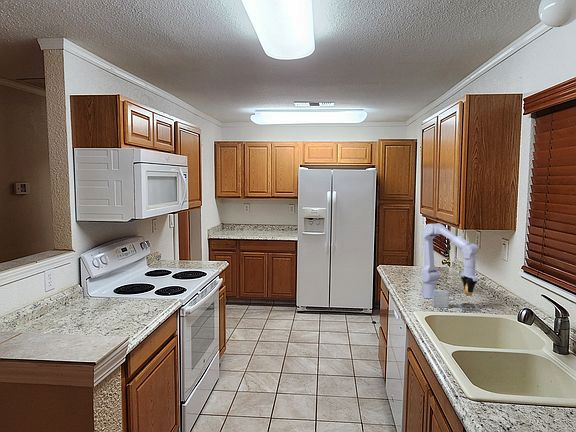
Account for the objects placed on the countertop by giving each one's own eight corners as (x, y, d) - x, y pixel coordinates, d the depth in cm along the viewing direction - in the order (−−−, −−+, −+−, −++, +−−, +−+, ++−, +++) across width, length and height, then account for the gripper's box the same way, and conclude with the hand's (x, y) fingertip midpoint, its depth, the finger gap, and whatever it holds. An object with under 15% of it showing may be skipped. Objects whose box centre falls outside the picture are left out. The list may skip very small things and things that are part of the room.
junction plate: (455, 305, 216) (456, 301, 216) (472, 305, 216) (472, 302, 216) (463, 310, 206) (463, 307, 206) (480, 311, 205) (480, 307, 205)
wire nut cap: (464, 293, 212) (464, 282, 212) (470, 293, 212) (471, 282, 211) (466, 295, 209) (466, 284, 208) (472, 295, 208) (473, 284, 208)
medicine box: (447, 305, 215) (448, 290, 214) (448, 308, 210) (449, 292, 210) (432, 304, 217) (432, 289, 216) (433, 307, 212) (433, 291, 212)
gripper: (456, 263, 216) (455, 287, 217) (468, 269, 202) (467, 294, 203) (468, 263, 217) (467, 287, 218) (482, 269, 202) (481, 294, 203)
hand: (468, 291), depth 210 cm, fingers closed on wire nut cap, 3 cm apart
